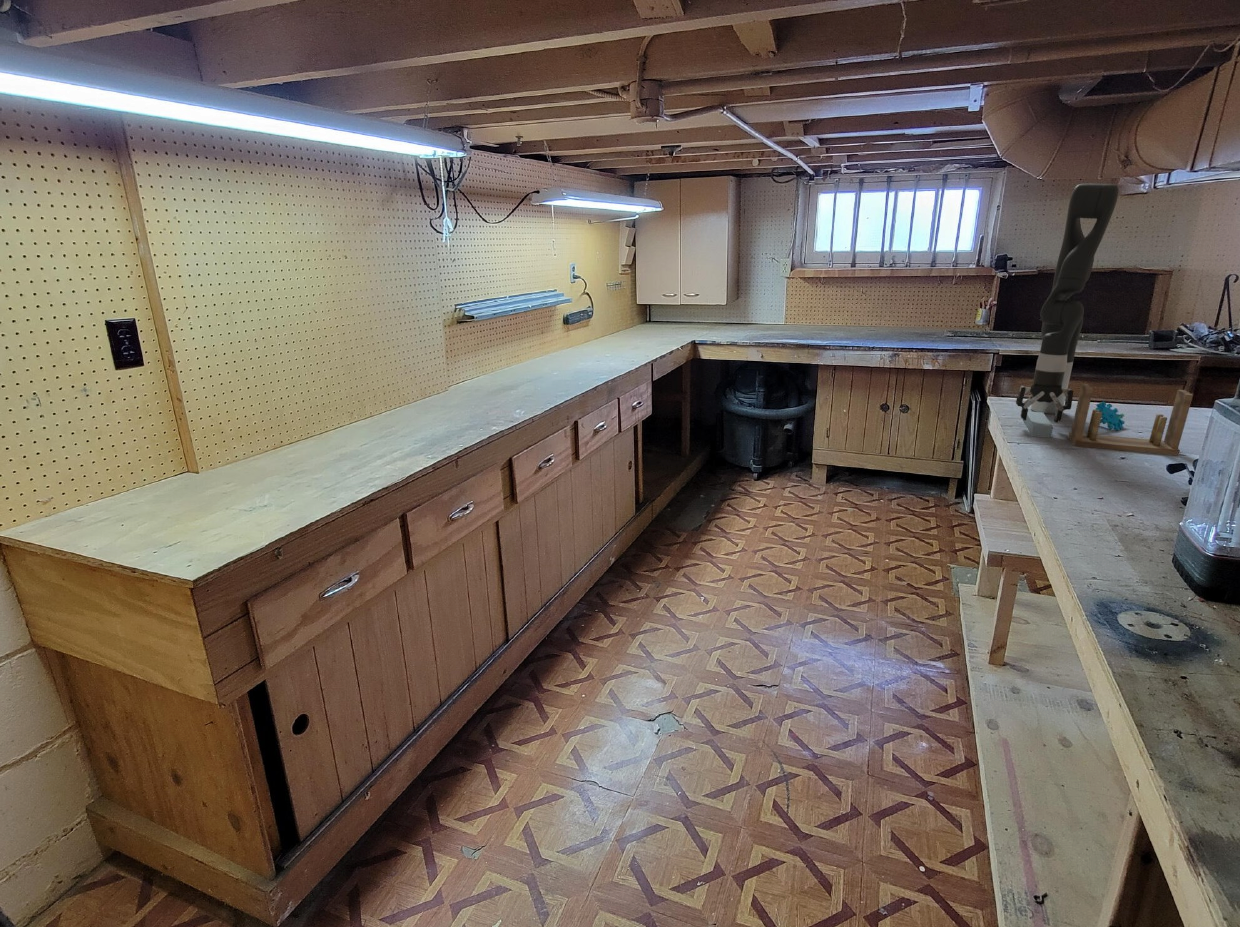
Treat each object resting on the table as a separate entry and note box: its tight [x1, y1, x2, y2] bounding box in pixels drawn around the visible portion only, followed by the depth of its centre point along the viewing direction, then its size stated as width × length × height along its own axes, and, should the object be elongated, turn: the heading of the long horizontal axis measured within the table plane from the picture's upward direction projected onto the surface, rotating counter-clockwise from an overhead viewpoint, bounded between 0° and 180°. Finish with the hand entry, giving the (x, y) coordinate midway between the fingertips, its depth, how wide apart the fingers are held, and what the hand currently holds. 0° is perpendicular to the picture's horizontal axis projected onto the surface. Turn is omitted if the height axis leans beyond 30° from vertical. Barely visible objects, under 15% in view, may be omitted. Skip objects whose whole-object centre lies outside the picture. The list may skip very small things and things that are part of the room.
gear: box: [1094, 401, 1125, 432], centre depth 207 cm, size 11×6×10 cm
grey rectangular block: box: [1022, 410, 1054, 438], centre depth 206 cm, size 18×5×4 cm, turn 157°
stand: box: [1068, 383, 1194, 456], centre depth 186 cm, size 9×24×16 cm, turn 68°
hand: (1039, 421), depth 205 cm, fingers open, 8 cm apart
